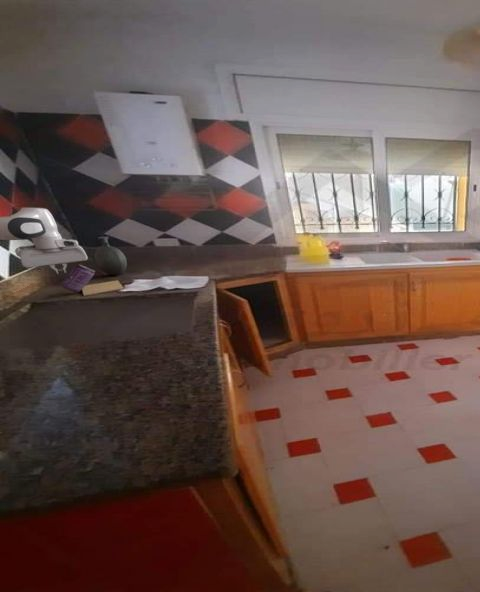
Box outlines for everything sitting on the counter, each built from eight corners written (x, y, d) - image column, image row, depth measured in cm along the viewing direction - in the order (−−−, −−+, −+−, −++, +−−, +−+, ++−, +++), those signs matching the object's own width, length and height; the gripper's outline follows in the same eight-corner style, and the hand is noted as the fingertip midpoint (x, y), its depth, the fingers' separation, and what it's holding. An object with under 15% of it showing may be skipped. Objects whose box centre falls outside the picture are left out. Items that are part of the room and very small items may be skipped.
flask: (106, 279, 173) (91, 239, 165) (99, 274, 182) (84, 236, 175) (133, 274, 182) (120, 236, 174) (125, 270, 191) (113, 234, 184)
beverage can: (67, 286, 153) (85, 266, 156) (82, 294, 153) (99, 273, 157) (54, 283, 146) (73, 262, 149) (69, 291, 147) (88, 269, 150)
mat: (84, 295, 148) (83, 294, 147) (81, 287, 160) (80, 286, 160) (123, 288, 157) (123, 287, 157) (118, 281, 170) (117, 280, 170)
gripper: (12, 248, 133) (27, 279, 138) (81, 241, 147) (92, 269, 152) (13, 246, 137) (27, 276, 142) (80, 239, 151) (91, 267, 156)
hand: (61, 273), depth 147 cm, fingers closed
